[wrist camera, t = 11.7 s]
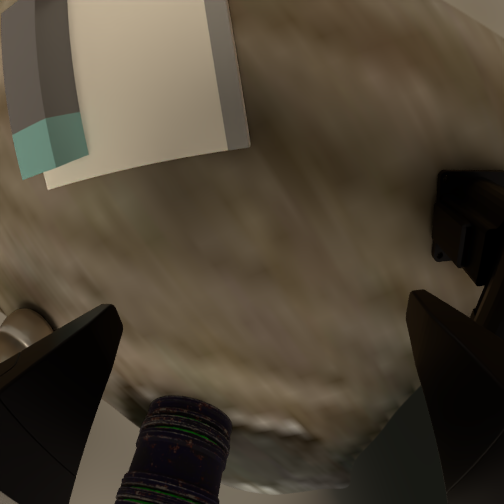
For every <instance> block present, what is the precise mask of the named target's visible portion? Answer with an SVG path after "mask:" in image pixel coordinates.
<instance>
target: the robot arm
mask: <svg viewBox="0 0 504 504" xmlns="http://www.w3.org/2000/svg"><path fill="white" fill-rule="evenodd" d="M445 175H447V179H446V181H444V180H443V178H444V176H445ZM432 239H433V249H432V257H433V258H434V260H435V261H437V262H442V261H450V260H452V261H453V263H454V264H455V265H456V266H457V267H458V268H463V269H464V271H465V272H466V273H467V274H468V275H469V277H470V278H471V279H472V280H473V282H474V283H475V284H476V285H477V286H484V285H485V286H484V289H483V291H482V294H481V296H480V299H479V301H478V303H477V306H476V308H474V309H473V311H472V314H471V316H470V318H469V317H468V316H466V315H464V314H463V313H461V312H460V311H458V310H456V309H455V308H453V307H452V306H450V305H449V304H447V303H445V302H444V301H442V300H440V299H439V298H437V297H436V296H434V295H432V294H431V293H429V292H427V291H426V290H423V289H422V290H413V291H411V292H410V295H409V300H408V306H407V312H406V323H407V327H408V332H409V336H410V341H411V346H412V351H413V356H414V361H415V365H416V369H417V372H418V376H419V379H420V382H421V386H422V389H423V393H424V396H425V400H426V403H427V407H428V411H429V414H430V418H431V422H432V426H433V430H434V434H435V438H436V443H437V447H438V452H439V456H440V461H441V466H442V471H443V476H444V482H445V487H446V492H448V493H447V494H446V495H447V501H448V504H504V171H503V170H442V171H440V172H439V174H438V182H437V201H436V203H435V204H434V217H433V229H432ZM440 252H441V253H440ZM438 253H440V255H439V256H437V254H438ZM122 332H123V325H122V322H121V320H120V317H119V315H118V312H117V310H116V308H115V306H114V305H112V304H101V305H99V306H98V307H96V308H94V309H92V310H91V311H89V312H87V313H85V314H84V315H82V316H80V317H78V318H77V319H75V320H73V321H71V322H70V323H68V324H66V325H64V326H63V327H61V328H59V329H58V330H56V331H54V332H52V333H51V334H49V335H47V336H46V337H44V338H42V339H41V340H39V341H37V342H35V343H34V344H32V345H30V346H29V347H27V348H25V349H24V350H22V351H21V352H18V353H17V354H15V355H14V356H12V357H10V358H8V359H7V360H5V361H3V362H1V363H0V504H69V500H70V497H71V493H72V489H73V486H74V482H75V479H76V475H77V471H78V468H79V464H80V461H81V458H82V455H83V451H84V448H85V445H86V442H87V439H88V435H89V433H90V429H91V426H92V423H93V421H94V418H95V414H96V412H97V409H98V406H99V403H100V400H101V398H102V395H103V392H104V390H105V387H106V384H107V381H108V379H109V376H110V373H111V371H112V367H113V364H114V360H115V357H116V353H117V350H118V346H119V343H120V339H121V336H122Z"/></svg>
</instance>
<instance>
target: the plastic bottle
mask: <svg viewBox="0 0 504 504" xmlns="http://www.w3.org/2000/svg"><path fill="white" fill-rule="evenodd" d="M52 332H53V330H52V328H51V326H50V325H49V324H48V322H47V321H46V320H45V319H44V318H43V317H42V316H41V315H40V314H38V313H37V312H35V311H33V310H31V309H26V308H25V309H17V310H16V311H14V312H13V313H11V314H10V315H9V316H7V317H6V319H5V320H4V322H3V323H2V325H1V326H0V363H1V362H3V361H5V360H7V359H8V358H10V357H12V356H14V355H15V354H17V353H18V352H21V351H22V350H24V349H25V348H27V347H29V346H30V345H32V344H34V343H35V342H37V341H39V340H41V339H42V338H44V337H46V336H47V335H49V334H51V333H52Z"/></svg>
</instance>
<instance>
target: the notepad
mask: <svg viewBox="0 0 504 504" xmlns="http://www.w3.org/2000/svg"><path fill="white" fill-rule="evenodd" d="M67 3H68V21H69V34H70V45H71V54H72V63H73V71H74V78H75V85H76V91H77V97H78V103H79V109H80V115H81V120H82V125H83V130H84V135H85V140H86V144H87V149H88V153H89V155H87V156H84V157H82V158H79V159H76V160H74V161H72V162H69V163H67V164H64V165H62V166H60V167H57V168H54V169H52V170H49V171H46V172H43V173H44V177H45V181H46V185H47V188H48V190H50V189H53V188H56V187H60V186H63V185H67V184H70V183H74V182H77V181H81V180H85V179H89V178H93V177H96V176H100V175H104V174H109V173H113V172H117V171H121V170H125V169H130V168H134V167H139V166H144V165H148V164H153V163H158V162H163V161H168V160H174V159H179V158H184V157H190V156H196V155H202V154H208V153H214V152H221V151H227V150H235V149H242V148H249V147H250V146H251V143H250V136H249V130H248V123H247V117H246V110H245V104H244V97H243V91H242V84H241V78H240V72H239V65H238V59H237V53H236V47H235V41H234V35H233V29H232V23H231V16H230V11H229V5H228V0H67Z"/></svg>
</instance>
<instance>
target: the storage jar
mask: <svg viewBox="0 0 504 504" xmlns="http://www.w3.org/2000/svg"><path fill="white" fill-rule="evenodd" d="M231 431H232V423H231V421H230V419H229V418H228V417H227V415H225V414H224V413H223V412H222V411H220V410H219V409H218V408H216V407H214V406H212V405H210V404H208V403H206V402H203V401H200V400H197V399H193V398H189V397H184V396H164V397H160V398H157V399H155V400H154V401H153V402H152V403H151V405H150V408H149V413H148V414H147V416H146V418H145V420H144V421H143V423H142V426H141V428H140V434H139V436H138V439H137V442H136V447H137V449H136V452H135V454H134V457H133V460H132V463H131V466H130V469H129V471H128V473H126V474H125V475H124V478H123V479H122V484H121V487H120V488H119V490H118V492H117V495H116V499H117V500H116V501H115V504H219V499H218V494H219V488H220V483H221V477H222V472H223V471H224V470H225V467H226V461H227V458H228V455H229V449H230V444H229V443H230V435H231Z"/></svg>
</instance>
